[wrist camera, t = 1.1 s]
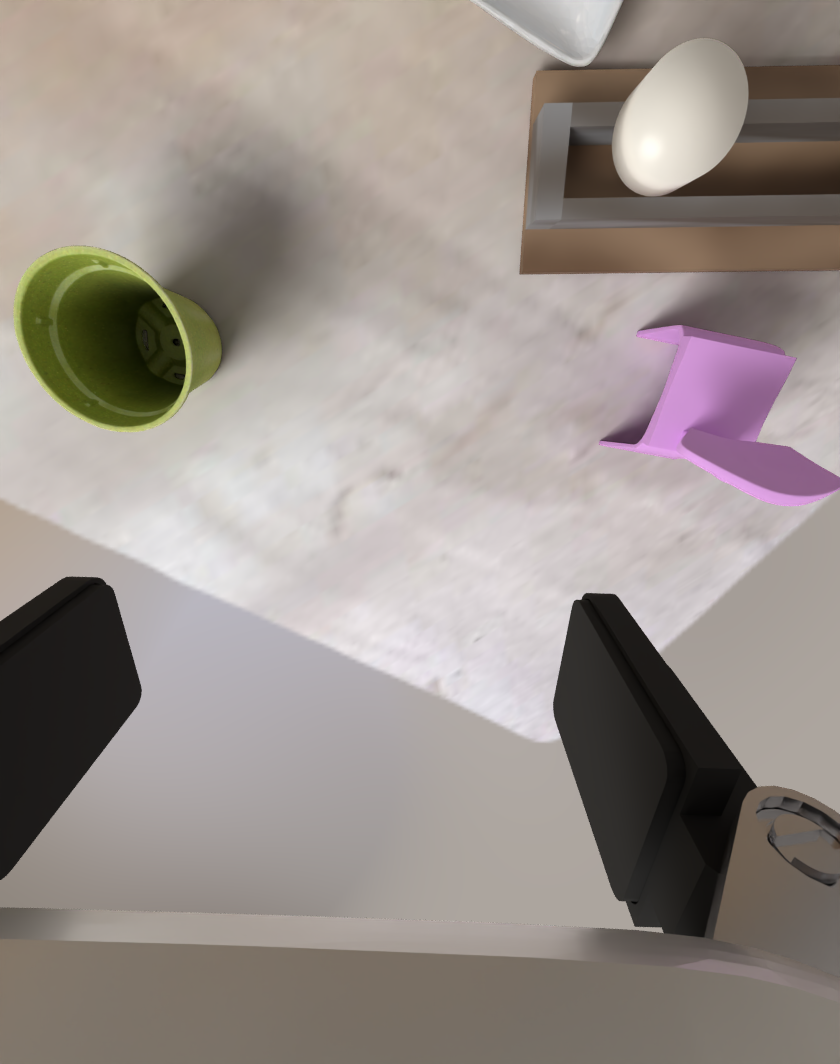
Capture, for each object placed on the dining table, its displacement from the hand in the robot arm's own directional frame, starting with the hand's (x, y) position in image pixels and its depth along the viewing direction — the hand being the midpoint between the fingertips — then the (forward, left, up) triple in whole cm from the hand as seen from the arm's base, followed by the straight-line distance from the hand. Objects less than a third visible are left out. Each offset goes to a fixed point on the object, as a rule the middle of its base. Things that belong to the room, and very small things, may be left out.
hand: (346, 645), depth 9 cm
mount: (-14, +19, -28) cm, 36 cm away
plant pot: (-5, -16, -28) cm, 32 cm away
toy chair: (-1, +19, -28) cm, 34 cm away
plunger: (-14, +13, -23) cm, 30 cm away
